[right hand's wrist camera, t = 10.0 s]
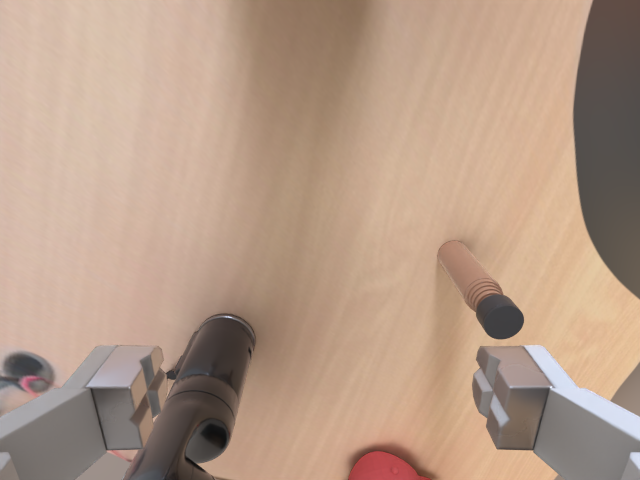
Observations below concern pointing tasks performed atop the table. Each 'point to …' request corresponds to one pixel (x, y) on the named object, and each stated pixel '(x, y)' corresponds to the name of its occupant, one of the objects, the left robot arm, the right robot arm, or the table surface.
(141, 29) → the table surface
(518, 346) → the right robot arm
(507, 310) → the cap
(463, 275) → the bottle
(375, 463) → the toy
